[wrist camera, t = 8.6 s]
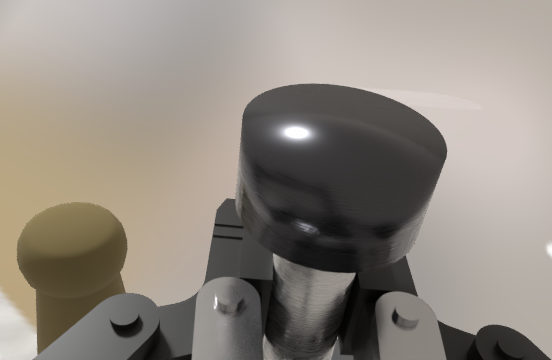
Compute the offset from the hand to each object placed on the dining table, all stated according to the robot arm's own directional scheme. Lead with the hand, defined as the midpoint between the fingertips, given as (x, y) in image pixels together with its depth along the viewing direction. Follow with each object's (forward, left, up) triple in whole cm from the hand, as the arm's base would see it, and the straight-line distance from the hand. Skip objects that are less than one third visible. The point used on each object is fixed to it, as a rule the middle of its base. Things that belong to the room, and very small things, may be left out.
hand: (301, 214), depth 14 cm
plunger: (0, -3, -17) cm, 17 cm away
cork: (-10, +8, -19) cm, 23 cm away
